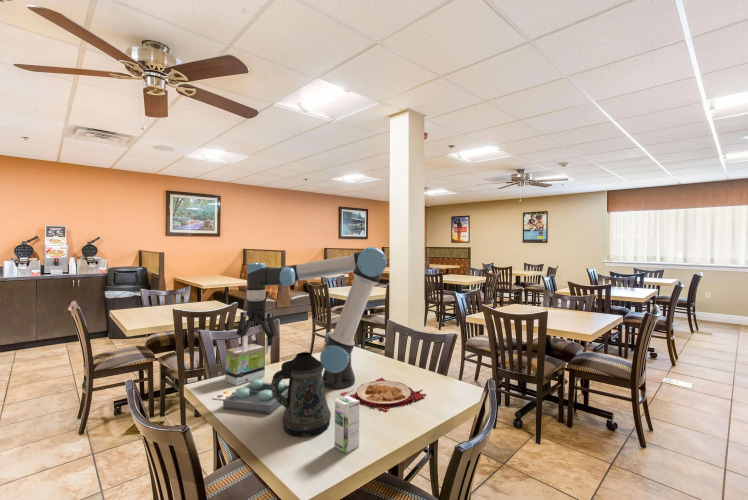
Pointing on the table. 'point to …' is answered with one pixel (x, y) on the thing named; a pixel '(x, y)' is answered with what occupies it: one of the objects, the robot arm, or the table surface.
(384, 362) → the table surface
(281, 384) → the button
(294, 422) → the beer stein
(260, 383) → the button
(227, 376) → the tea box
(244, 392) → the button
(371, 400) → the plate with food
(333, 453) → the table surface
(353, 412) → the syrup box
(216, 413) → the table surface
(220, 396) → the card
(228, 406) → the button board
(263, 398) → the button
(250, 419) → the table surface
